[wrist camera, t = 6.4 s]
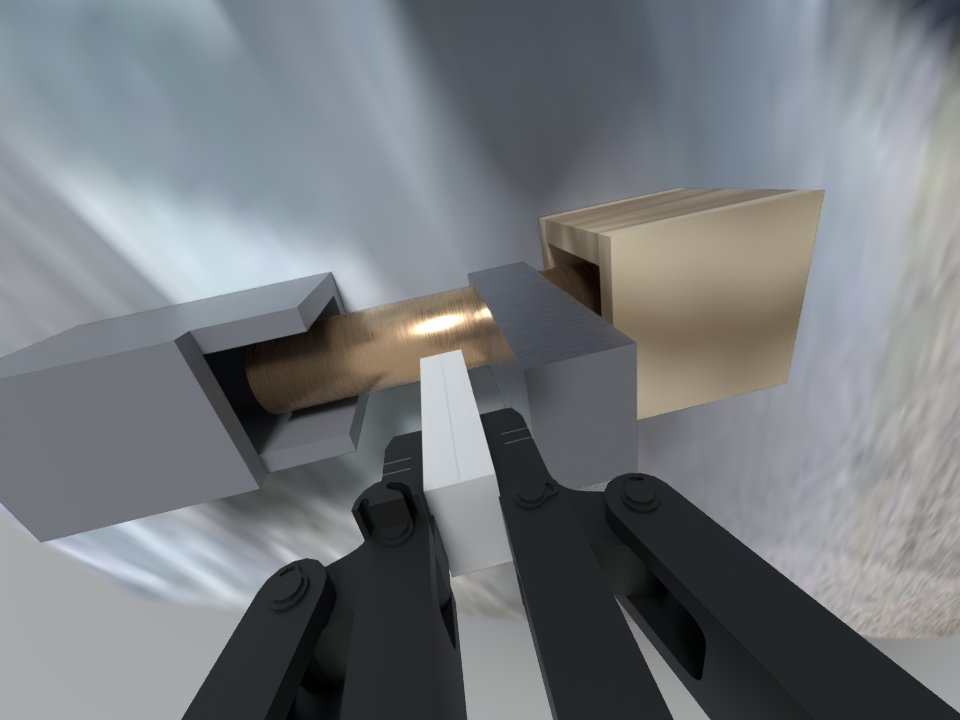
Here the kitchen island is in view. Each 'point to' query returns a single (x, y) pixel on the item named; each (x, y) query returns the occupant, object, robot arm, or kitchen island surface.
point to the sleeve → (159, 411)
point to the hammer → (483, 360)
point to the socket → (697, 284)
